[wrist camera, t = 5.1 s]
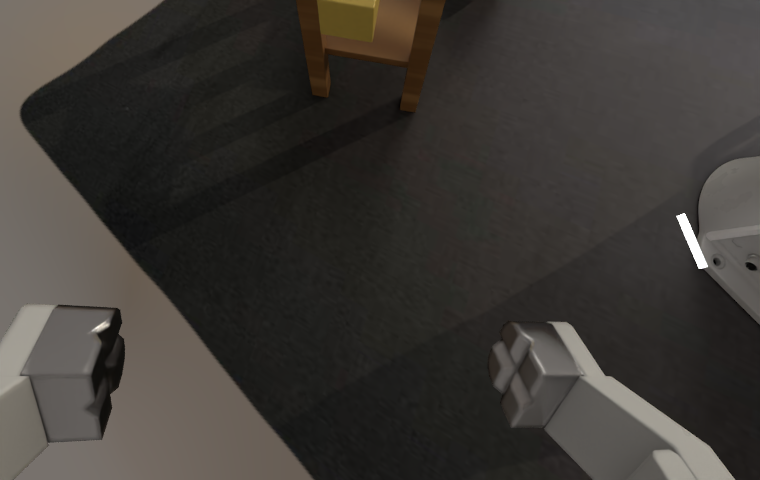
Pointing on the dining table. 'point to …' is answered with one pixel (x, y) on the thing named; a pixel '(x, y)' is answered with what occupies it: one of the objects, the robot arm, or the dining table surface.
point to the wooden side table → (376, 43)
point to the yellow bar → (348, 18)
